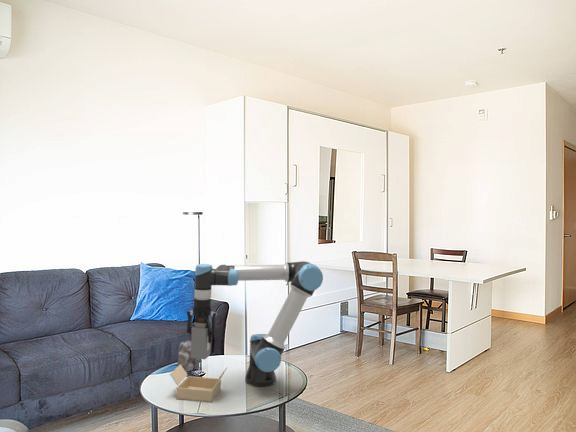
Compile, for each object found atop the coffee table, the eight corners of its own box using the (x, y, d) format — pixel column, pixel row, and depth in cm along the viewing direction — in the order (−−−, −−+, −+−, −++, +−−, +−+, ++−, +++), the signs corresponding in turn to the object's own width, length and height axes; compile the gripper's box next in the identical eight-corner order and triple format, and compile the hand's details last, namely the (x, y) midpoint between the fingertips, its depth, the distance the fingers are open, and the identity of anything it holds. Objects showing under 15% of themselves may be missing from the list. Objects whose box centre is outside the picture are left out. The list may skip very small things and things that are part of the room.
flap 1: (180, 364, 224) (180, 364, 224) (170, 373, 211) (169, 374, 211) (187, 375, 223) (187, 375, 223) (177, 385, 210) (177, 385, 211)
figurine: (189, 374, 242) (191, 344, 241) (173, 369, 247) (174, 340, 247) (202, 368, 250) (204, 340, 250) (186, 364, 256) (187, 336, 256)
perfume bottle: (204, 359, 212) (206, 319, 212) (190, 357, 213) (192, 318, 213) (210, 355, 218) (211, 316, 218) (196, 353, 220) (197, 314, 220)
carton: (220, 389, 222) (221, 379, 222) (211, 402, 208) (211, 391, 207) (187, 386, 224) (188, 376, 224) (176, 399, 210) (176, 387, 210)
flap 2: (220, 377, 221) (220, 378, 221) (212, 388, 208) (212, 388, 208) (226, 367, 221) (227, 367, 221) (219, 376, 208) (219, 377, 208)
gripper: (224, 298, 218) (222, 348, 218) (185, 295, 220) (184, 345, 221) (220, 301, 211) (218, 353, 211) (180, 298, 213) (178, 349, 213)
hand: (200, 349), depth 216 cm, fingers closed on perfume bottle, 6 cm apart
